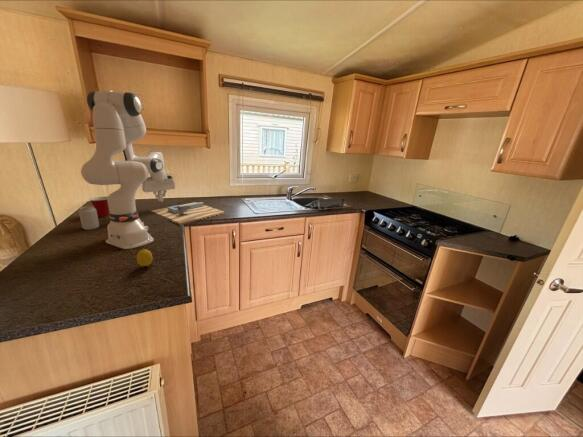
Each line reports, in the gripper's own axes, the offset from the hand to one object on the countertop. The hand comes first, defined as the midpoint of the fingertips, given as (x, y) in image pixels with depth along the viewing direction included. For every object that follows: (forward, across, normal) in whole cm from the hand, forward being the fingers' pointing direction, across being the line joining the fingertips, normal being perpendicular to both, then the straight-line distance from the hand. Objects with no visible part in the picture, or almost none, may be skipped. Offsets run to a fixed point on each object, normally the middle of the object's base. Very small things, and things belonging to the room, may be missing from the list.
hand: (160, 197), depth 162 cm
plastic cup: (+11, -28, +18) cm, 35 cm away
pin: (+3, 0, 0) cm, 3 cm away
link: (+9, +15, -7) cm, 19 cm away
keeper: (+10, +7, -16) cm, 20 cm away
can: (+12, -40, 0) cm, 42 cm away
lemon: (+13, -40, -64) cm, 76 cm away
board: (+11, +12, -12) cm, 21 cm away
